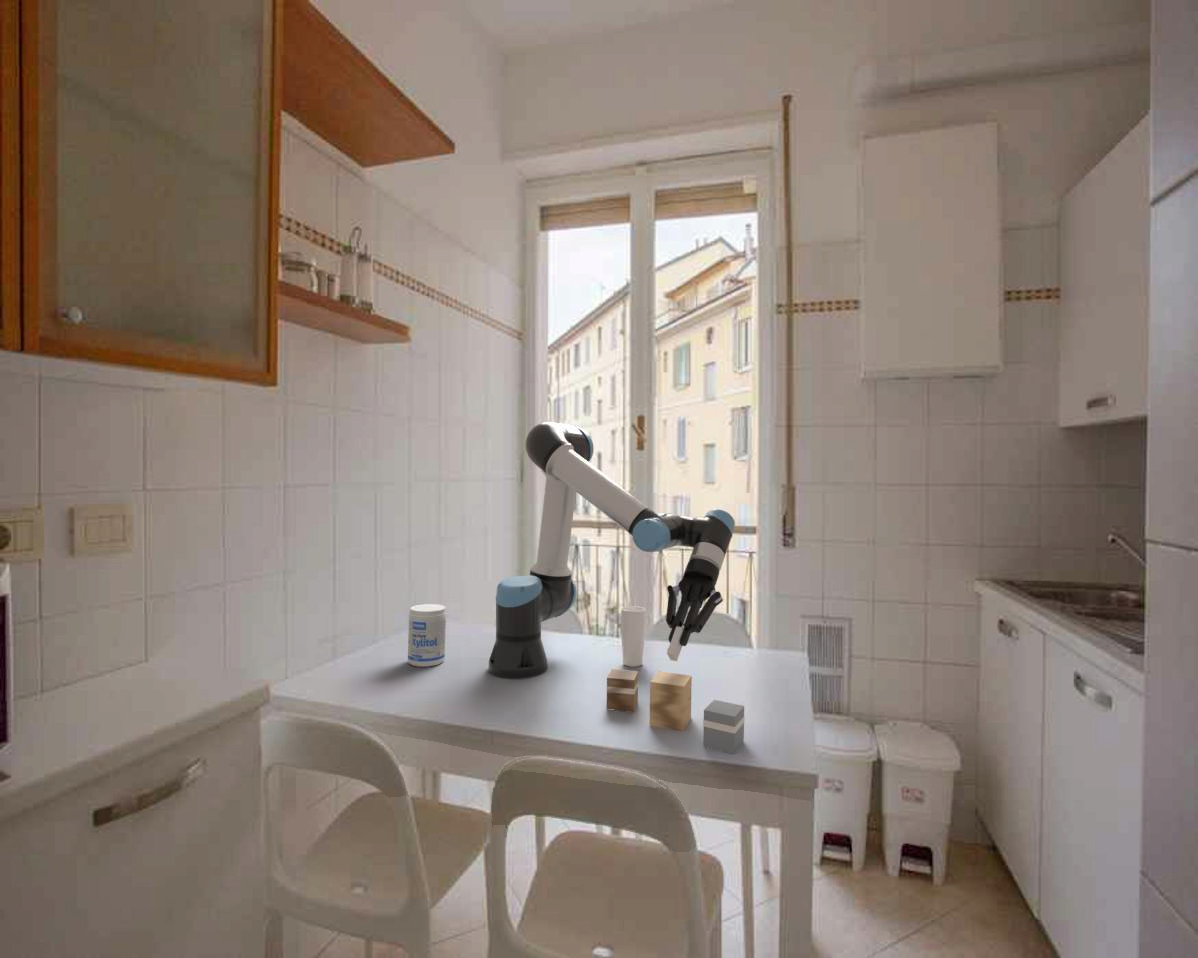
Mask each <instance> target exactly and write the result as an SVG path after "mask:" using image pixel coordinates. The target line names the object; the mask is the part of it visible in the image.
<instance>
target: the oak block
mask: <svg viewBox="0 0 1198 958" xmlns="http://www.w3.org/2000/svg"><path fill="white" fill-rule="evenodd" d="M692 678H693V677H692V675H688V674H681V673H674V672H667V671H658V672H657V674H656V675H655V676H653V678H652V679H651V680H650V681H649V726H650V725H652V726H651V727H656V728H661V727H662V729H667V730H673V731H679V732H684V730H685V729H686V727H687V725H688V724H689V722H690V721H691V718H692V684H693V683H692V681H693V680H692Z"/></svg>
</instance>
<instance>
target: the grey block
mask: <svg viewBox="0 0 1198 958" xmlns="http://www.w3.org/2000/svg"><path fill="white" fill-rule="evenodd" d="M702 727H703V730H702V731H703V736H702V737H703V738H702V739H703V740H702V744H703V746H702V747H704V748H707V747H709V748H708V749H711V748H712V749H711V750H715V749H717V750H716V751H719V750H721V751H720V752H723V753H727V754H731V755H735V754H736V753H737V752H738V751H739V749H740V747H741V746H742V745H743V743H744V739H745V733H744V732H745V705H741V704H737V703H733V702H726V701H722V700H717V699H713V700H712V701H711V702H710V703H709V704H708V705H707V706H706V707H705V708H704V709H703V722H702Z"/></svg>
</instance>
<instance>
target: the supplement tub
mask: <svg viewBox="0 0 1198 958" xmlns="http://www.w3.org/2000/svg"><path fill="white" fill-rule="evenodd" d="M446 625H447V610H446V606H445V605H443V604H438V603H437V604H436V603H425V604H424V603H423V604H418V605H417V604H416V605H413V606H411V607H410V608H409V615H408V640H407V662H408V664H409V665H411V666H414V667H417V668H418V667H419V668H425V667H427V668H428V667H433V666H437V665H440V664H442V663H443V662H444V661H445V659H446V658H445V657H446V629H447V628H446V627H447V626H446Z"/></svg>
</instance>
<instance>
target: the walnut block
mask: <svg viewBox="0 0 1198 958" xmlns="http://www.w3.org/2000/svg"><path fill="white" fill-rule="evenodd" d="M637 702H638V703H639V670H628V669H616V668H612V669H611V670H610V672H609V674H608V675H607V677H606V710H607V709H614V710H613V711H615V710H618V711H617V712H626V711H632V712H631V713H635V711H634V710H636V708H635V707H637V705H638V703H637Z"/></svg>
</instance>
